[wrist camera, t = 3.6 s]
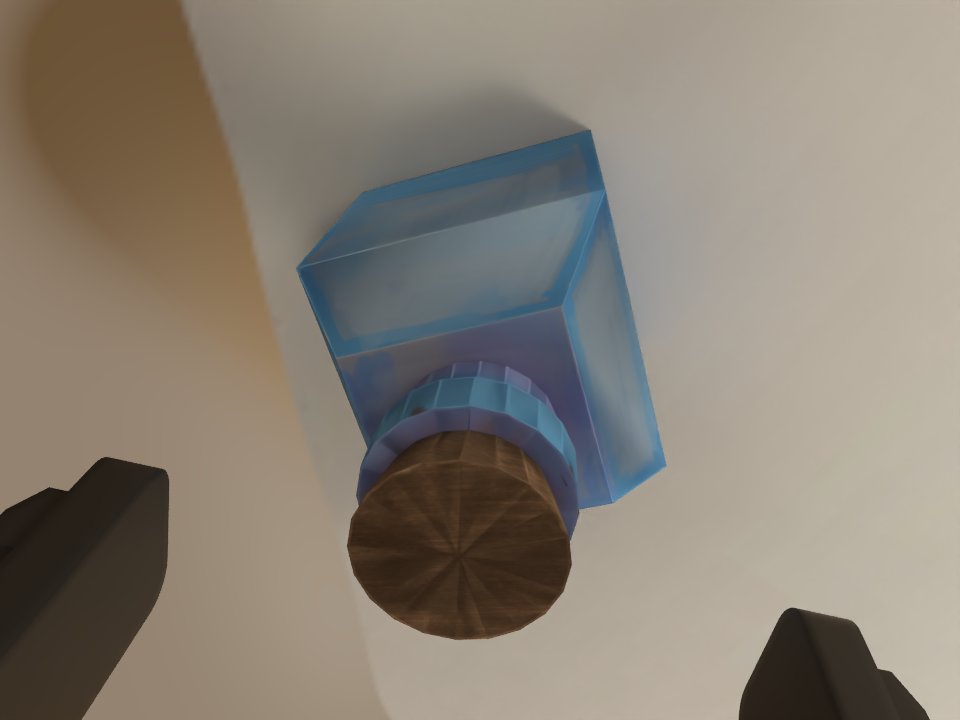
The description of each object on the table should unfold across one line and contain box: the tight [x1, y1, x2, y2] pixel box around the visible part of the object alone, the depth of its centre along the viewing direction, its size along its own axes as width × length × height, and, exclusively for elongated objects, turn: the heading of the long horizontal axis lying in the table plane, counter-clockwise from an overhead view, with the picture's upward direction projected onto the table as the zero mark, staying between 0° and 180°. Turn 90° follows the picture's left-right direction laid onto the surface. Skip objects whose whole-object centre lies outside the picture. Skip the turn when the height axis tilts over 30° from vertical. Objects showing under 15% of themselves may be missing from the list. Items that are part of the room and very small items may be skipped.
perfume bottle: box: [296, 130, 666, 640], centre depth 16 cm, size 6×6×12 cm
